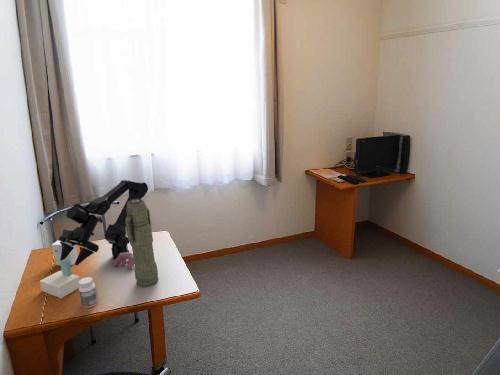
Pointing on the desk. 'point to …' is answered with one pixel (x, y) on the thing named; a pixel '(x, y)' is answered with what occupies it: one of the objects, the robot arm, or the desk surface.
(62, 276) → the flap
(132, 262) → the video game controller
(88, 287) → the pill bottle
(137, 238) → the olive tall rounded piece
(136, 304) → the desk surface
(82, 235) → the robot arm
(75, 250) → the small box
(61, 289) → the carton
